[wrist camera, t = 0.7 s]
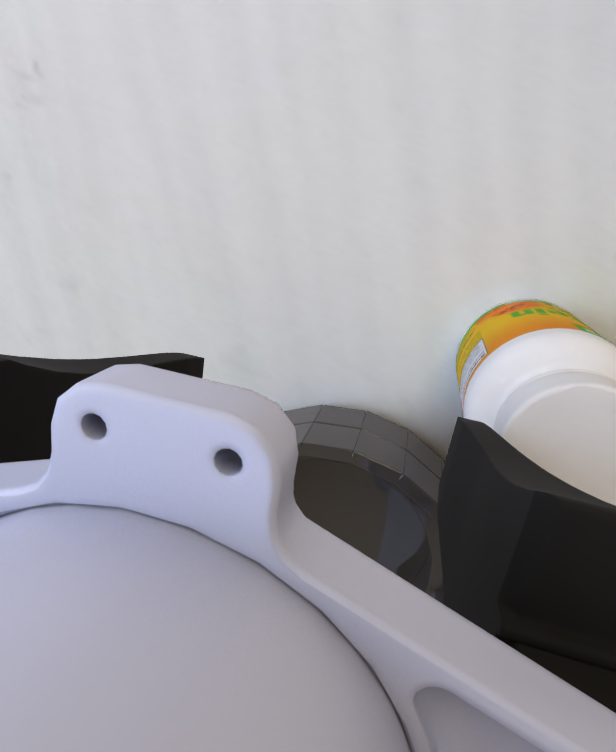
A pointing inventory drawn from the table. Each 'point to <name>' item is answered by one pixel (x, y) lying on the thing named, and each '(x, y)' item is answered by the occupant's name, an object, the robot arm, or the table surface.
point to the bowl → (371, 489)
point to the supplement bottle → (544, 390)
